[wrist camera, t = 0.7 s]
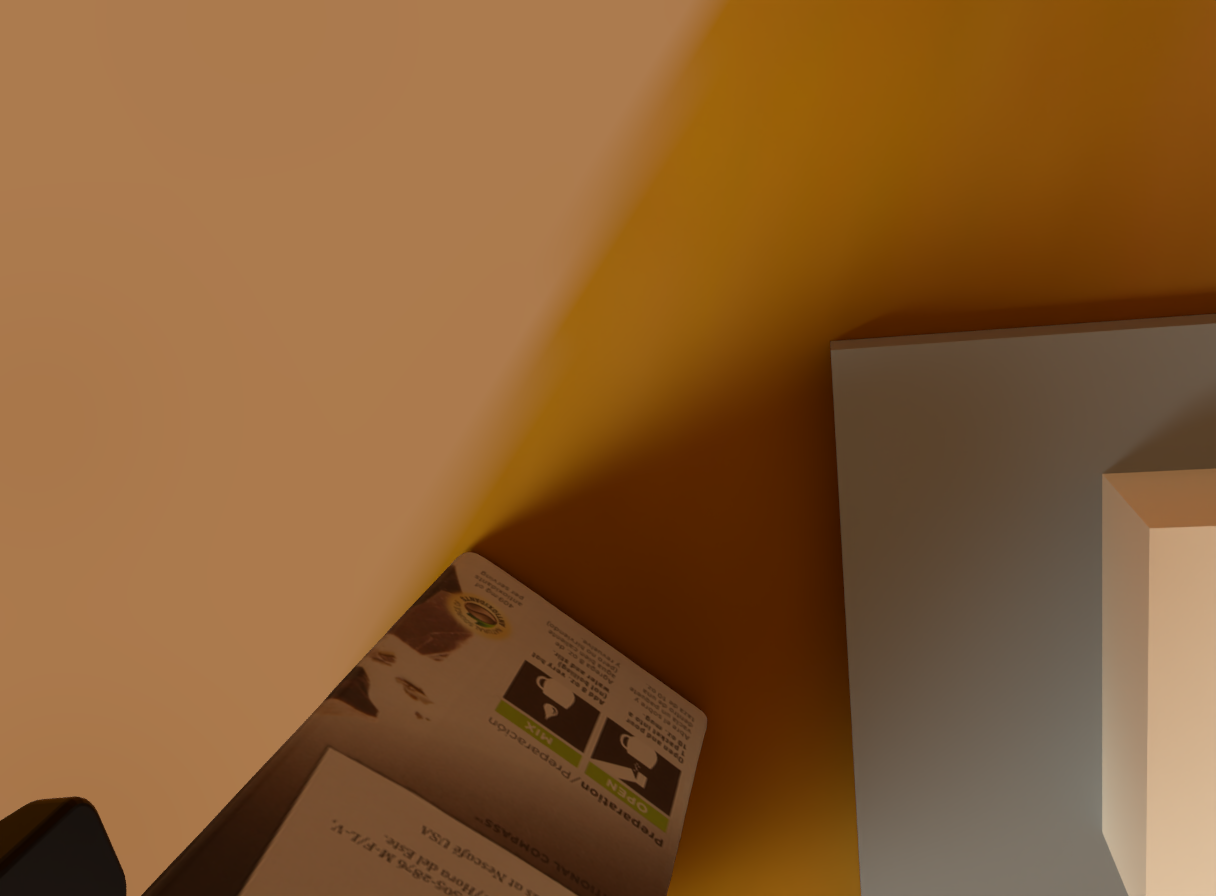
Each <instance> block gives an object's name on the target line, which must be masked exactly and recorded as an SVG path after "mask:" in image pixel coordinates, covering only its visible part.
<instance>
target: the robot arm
mask: <svg viewBox="0 0 1216 896" xmlns="http://www.w3.org/2000/svg"><path fill="white" fill-rule="evenodd" d="M0 896H126V880H125V875H124V872H123V869H122V867H121V865H120V863H119V860H118V858H117V856H116V854H115V851H114V849H113V847H112V844H111V842H110V840H109V837H108V835H107V833H106V830H105V828H104V826H103V824H102V821H101V819H100V817H99V814H98V812H97V810H96V809H95V807H94V806H93V805H92V804H91V803H90V802H89V801H88V800H87V799H84V798H80V797H64V798H52V799H42V800H36V801H33V802H30V803H28V804H26V805H25V806H23V807H21V808H20V809H18V810H17V811H15V812H14V813H12V814H10V815H9V816H7V817H5V818H4V819H2V820H1V821H0Z"/></svg>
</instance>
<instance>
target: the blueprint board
mask: <svg viewBox="0 0 1216 896" xmlns="http://www.w3.org/2000/svg"><path fill="white" fill-rule="evenodd" d="M830 347H831V365H832V383H833V400H834V418H835V436H836V454H837V472H838V490H839V507H840V525H841V543H842V561H843V579H844V597H845V614H846V632H847V650H848V668H849V686H850V704H851V721H852V739H853V757H854V775H855V793H856V811H857V828H858V846H859V864H860V882H861V896H1216V314H1202V315H1188V316H1174V317H1160V318H1146V319H1132V320H1118V321H1104V322H1091V323H1077V324H1063V325H1049V326H1035V327H1021V328H1007V329H993V330H979V331H965V332H951V333H937V334H923V335H909V336H895V337H881V338H867V339H854V340H840V341H830Z"/></svg>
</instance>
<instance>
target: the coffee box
mask: <svg viewBox="0 0 1216 896" xmlns="http://www.w3.org/2000/svg"><path fill="white" fill-rule="evenodd" d="M706 729H707V717H706V715H705V714H704V713H703V712H702V711H701V710H700V709H698V708H697V707H696V706H694V705H693V704H691V703H690V702H689V701H687V700H686V699H684V698H683V697H682V696H680V695H679V694H677V693H676V692H675V691H673V690H672V689H670V688H669V687H668V686H666V685H665V684H664V683H662V682H661V681H659V680H658V679H656V678H655V677H654V676H652V675H651V674H649V673H648V672H646V671H645V670H644V669H642V668H641V667H639V666H638V665H636V664H635V663H634V662H632V661H631V660H630V659H628V658H627V657H625V656H624V655H623V654H621V653H620V652H619V651H617V650H616V649H614V648H613V647H611V646H610V645H609V644H607V643H606V642H604V641H603V640H601V639H600V638H599V637H597V636H596V635H594V634H593V633H592V632H590V631H589V630H587V629H586V628H584V627H583V626H582V625H580V624H579V623H577V622H576V621H574V620H573V619H572V618H570V617H569V616H567V615H566V614H564V613H563V612H562V611H560V610H559V609H557V608H556V607H554V606H553V605H552V604H550V603H549V602H548V601H546V600H545V599H543V598H542V597H541V596H539V595H538V594H536V593H535V592H534V591H532V590H531V589H529V588H528V587H526V586H525V585H523V584H522V583H521V582H519V581H518V580H516V579H515V578H513V577H512V576H511V575H509V574H508V573H506V572H505V571H503V570H502V569H500V568H499V567H497V566H496V565H494V564H493V563H491V562H490V561H488V560H487V559H485V558H484V557H482V556H480V555H478V554H477V553H472V552H468V553H463V554H462V555H460V556H459V557H457V558H456V560H455V561H454V562H453V563H452V564H451V565H450V566H449V567H448V568H447V569H446V570H445V571H444V572H443V573H442V574H441V576H440V577H439V578H438V579H437V580H436V581H435V582H434V583H433V584H432V585H431V586H430V587H429V588H428V589H427V590H426V591H425V592H424V594H423V595H422V596H421V597H420V598H419V599H418V600H417V601H416V602H415V603H414V604H413V605H412V606H411V607H410V608H409V609H408V610H407V611H406V612H405V614H404V615H403V616H402V617H401V618H400V619H399V620H398V621H397V622H396V623H395V624H394V625H393V626H392V627H391V628H390V630H389V631H388V632H387V633H386V634H385V635H384V637H383V638H382V639H380V640H379V641H378V643H377V644H376V645H375V646H374V647H373V648H372V649H371V650H370V651H369V652H368V653H367V654H366V655H365V656H364V658H363V659H362V660H361V661H360V662H359V663H358V664H357V665H356V666H355V667H354V668H353V669H352V671H351V672H350V673H349V674H348V675H347V676H346V677H345V678H344V679H343V680H342V681H341V682H340V683H339V684H338V686H337V687H336V688H335V689H334V690H333V691H332V692H331V693H330V694H329V696H328V697H327V698H326V699H325V700H324V701H323V703H322V704H321V705H320V706H319V707H318V708H317V709H316V710H315V711H314V712H313V713H312V715H311V716H310V717H309V718H308V719H307V720H306V721H305V722H304V723H303V724H302V725H301V726H300V727H299V728H298V729H297V731H296V732H295V733H294V734H293V735H292V736H291V737H290V738H289V739H288V740H287V741H286V742H285V743H284V744H283V745H282V746H281V747H280V749H279V750H278V751H277V752H276V753H275V754H274V755H273V756H272V757H271V758H270V759H269V760H268V761H267V763H265V764H264V765H263V767H262V768H261V769H260V770H259V771H258V772H257V773H256V774H255V775H254V776H253V777H252V778H251V779H250V780H249V781H248V783H247V784H246V785H245V786H244V787H243V788H242V789H241V790H240V791H239V792H238V793H237V794H236V796H235V797H234V798H233V799H232V800H231V801H230V802H229V803H228V804H227V805H226V806H225V807H224V808H223V809H222V810H221V812H220V813H219V814H218V815H217V816H216V817H215V818H214V819H213V820H212V821H211V822H210V823H209V825H208V826H207V827H206V828H205V829H204V830H203V831H202V832H201V833H200V834H199V835H198V836H197V837H196V838H195V839H194V840H193V841H192V843H190V845H189V846H188V847H187V848H186V849H185V850H184V851H183V852H182V853H181V854H180V855H179V856H178V857H177V858H176V859H175V860H174V861H173V862H172V863H171V864H170V866H169V867H168V868H167V869H166V870H165V871H164V872H163V873H162V874H161V875H160V876H159V877H158V878H157V879H156V880H155V881H154V883H153V884H152V885H151V886H150V887H149V888H148V889H147V890H146V891H145V892H144V893H143V894H142V895H141V896H667V891H668V887H669V884H670V880H671V877H672V872H673V867H674V862H675V858H676V854H677V851H678V845H679V842H680V839H681V833H682V829H683V824H684V819H685V815H686V810H687V806H688V802H689V797H690V793H691V789H692V785H693V780H694V776H695V772H696V767H697V763H698V759H699V755H700V751H701V747H702V743H703V739H704V735H705V732H706Z"/></svg>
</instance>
